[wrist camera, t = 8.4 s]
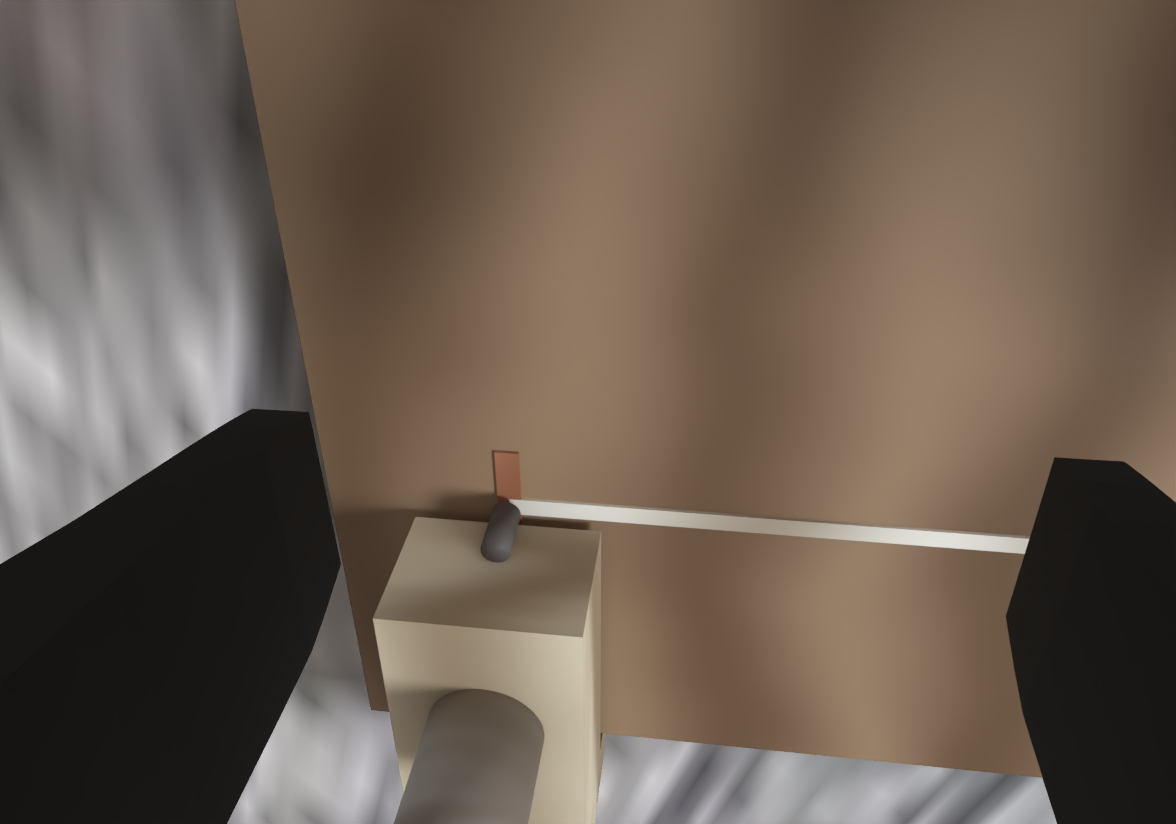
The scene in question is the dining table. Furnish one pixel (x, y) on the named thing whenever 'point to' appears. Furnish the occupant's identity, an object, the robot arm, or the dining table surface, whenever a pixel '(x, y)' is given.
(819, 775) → the dining table surface
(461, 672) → the cream block
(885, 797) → the dining table surface
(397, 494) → the board
